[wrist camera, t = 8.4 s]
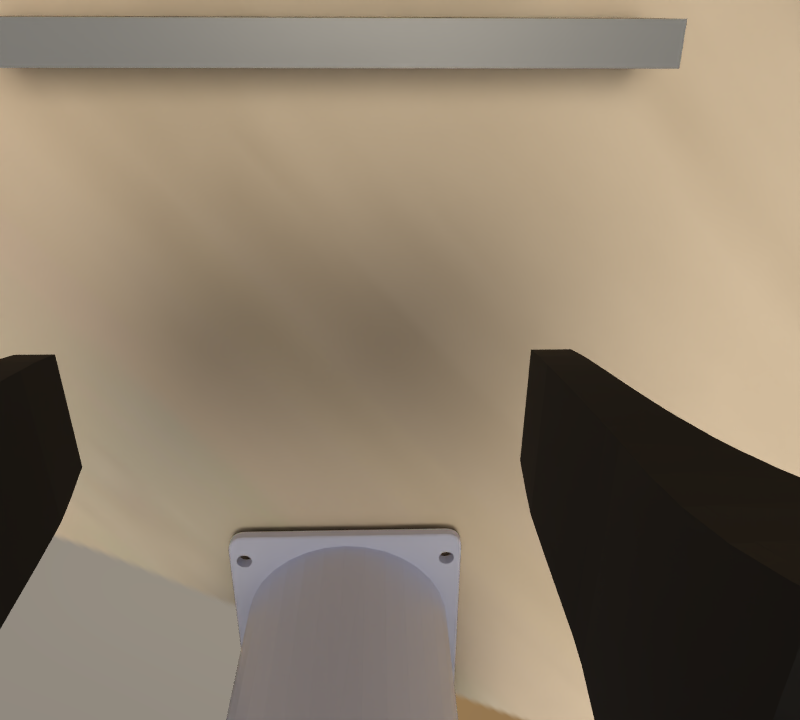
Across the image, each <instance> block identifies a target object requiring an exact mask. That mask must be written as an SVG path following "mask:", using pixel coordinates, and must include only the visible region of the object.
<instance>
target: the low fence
mask: <svg viewBox="0 0 800 720" xmlns="http://www.w3.org/2000/svg"><path fill="white" fill-rule="evenodd" d="M686 23H687V19H665V18H495V17H186V16H0V68H649V69H679V66H680V60H681V54H682V48H683V41H684V35H685V29H686Z"/></svg>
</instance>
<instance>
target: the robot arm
mask: <svg viewBox="0 0 800 720" xmlns="http://www.w3.org/2000/svg"><path fill="white" fill-rule="evenodd" d="M520 462H521V467H522V473H523V478H524V483H525V489H526V494H527V499H528V503H529V508H530V513H531V516H532V519H533V522H534V525H535V528H536V531H537V534H538V537H539V540H540V543H541V546H542V549H543V552H544V555H545V558H546V560H547V563H548V566H549V569H550V572H551V575H552V578H553V580H554V583H555V586H556V589H557V592H558V595H559V597H560V600H561V603H562V606H563V609H564V612H565V615H566V617H567V620H568V623H569V626H570V629H571V632H572V634H573V638H574V641H575V644H576V648H577V651H578V654H579V658H580V661H581V664H582V668H583V672H584V677H585V681H586V685H587V690H588V694H589V698H590V702H591V707H592V711H593V715H594V720H800V477H798V476H795V475H793V474H790V473H788V472H786V471H783V470H781V469H779V468H776V467H774V466H772V465H770V464H768V463H766V462H763V461H761V460H759V459H757V458H755V457H753V456H751V455H748V454H746V453H744V452H742V451H740V450H738V449H735V448H734V447H732V446H730V445H728V444H726V443H724V442H722V441H720V440H718V439H716V438H714V437H712V436H710V435H709V434H707V433H705V432H703V431H702V430H700V429H698V428H696V427H695V426H693V425H691V424H689V423H687V422H686V421H684V420H682V419H680V418H679V417H677V416H675V415H674V414H672V413H670V412H669V411H667V410H665V409H664V408H662V407H661V406H659V405H657V404H656V403H654V402H653V401H651V400H649V399H648V398H646V397H645V396H643V395H642V394H640V393H639V392H637V391H636V390H634V389H633V388H631V387H630V386H628V385H626V384H625V383H623V382H622V381H620V380H619V379H618V378H616V377H615V376H613V375H612V374H610V373H609V372H607V371H606V370H604V369H603V368H601V367H600V366H598V365H597V364H595V363H593V362H592V361H590V360H589V359H587V358H586V357H584V356H582V355H581V354H579V353H577V352H575V351H573V350H571V349H563V350H531V356H530V366H529V377H528V387H527V397H526V407H525V418H524V428H523V438H522V448H521V458H520ZM81 469H82V464H81V460H80V456H79V452H78V448H77V444H76V440H75V436H74V431H73V427H72V423H71V419H70V415H69V411H68V407H67V403H66V398H65V394H64V390H63V386H62V382H61V378H60V374H59V370H58V365H57V361H56V357H55V355H12V356H9V357H5V358H2V359H0V628H1V627H2V625H3V623H4V621H5V620H6V618H7V616H8V614H9V613H10V611H11V609H12V608H13V606H14V604H15V603H16V600H17V599H18V597H19V595H20V594H21V592H22V590H23V589H24V587H25V585H26V583H27V582H28V580H29V578H30V577H31V575H32V573H33V571H34V570H35V568H36V566H37V564H38V563H39V561H40V559H41V557H42V556H43V554H44V552H45V550H46V548H47V547H48V545H49V543H50V541H51V540H52V538H53V536H54V534H55V532H56V531H57V529H58V527H59V525H60V523H61V521H62V519H63V516H64V514H65V511H66V509H67V506H68V504H69V502H70V499H71V497H72V494H73V491H74V488H75V485H76V483H77V480H78V477H79V474H80V471H81ZM443 552H450V553H451V554H450V555H448V556H442V555H440V554H442V553H443ZM243 555H244V556H248V557H250V558H251V559H248V560H246V559H242V558H241V557H240V556H243ZM229 556H230V564H231V572H232V580H233V588H234V595H235V603H236V610H237V618H238V626H239V634H240V642H241V653H240V658H239V662H238V667H237V672H236V676H235V681H234V686H233V691H232V696H231V700H230V705H229V709H228V714H227V719H226V720H458V714H457V706H456V697H455V688H454V675H455V655H456V635H457V616H458V596H459V576H460V557H461V542H460V536H459V534H458V533H457V532H456V531H454V530H452V529H447V528H443V529H385V530H327V531H269V532H240V533H237V534H235V535H233V537H232V538H231V540H230V544H229Z"/></svg>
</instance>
